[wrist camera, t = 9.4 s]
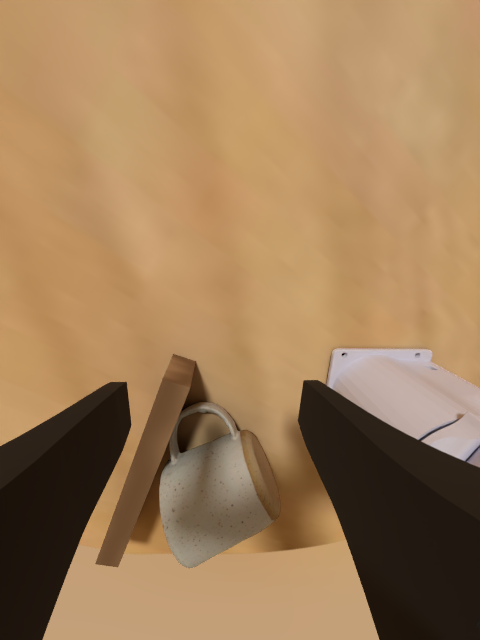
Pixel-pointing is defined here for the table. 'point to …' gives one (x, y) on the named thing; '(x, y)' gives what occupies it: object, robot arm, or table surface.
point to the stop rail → (147, 458)
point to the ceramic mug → (215, 492)
